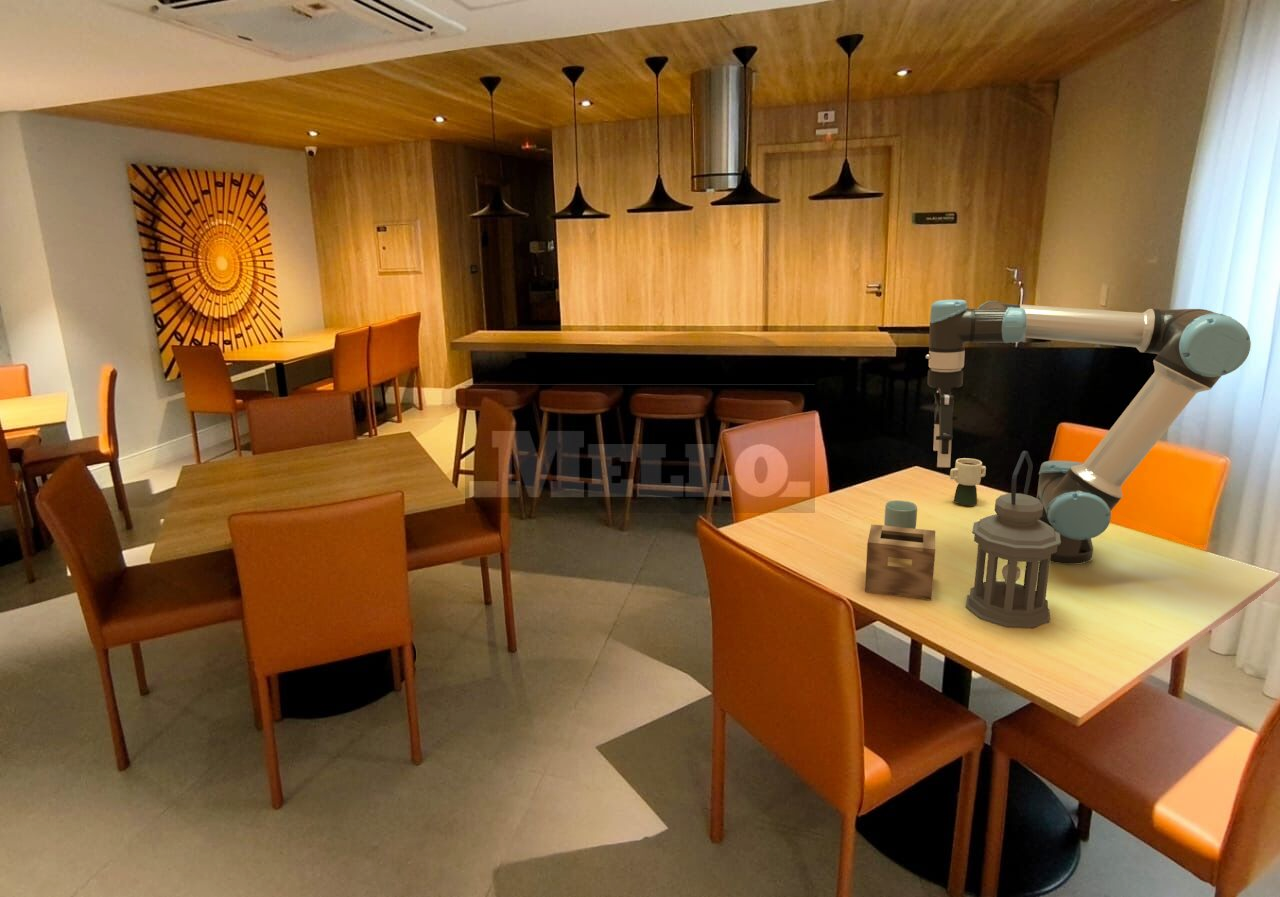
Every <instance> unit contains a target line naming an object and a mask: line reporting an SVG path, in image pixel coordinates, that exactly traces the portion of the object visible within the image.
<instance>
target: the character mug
mask: <svg viewBox="0 0 1280 897" xmlns="http://www.w3.org/2000/svg"><path fill="white" fill-rule="evenodd" d="M954 465H955V466H954V468H951V469H950V472H949V480H954V481H955V482H956V483H957V485H956V488H955V492H954V497H953V502H955V503H957V504H959V505H963V506H970V507H971V506H975V505H977V503H978V493H977V492H978V489H977V486H978V485H980V484H981V480H982V478H984V477H985V476H986V470H987V467H986V465H983V462H982V461H981V460H980V459H976V458H968V457H967V458H966V457H963V458H960V457H959V458H957V459H956V460H955V464H954Z"/></svg>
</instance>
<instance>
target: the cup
mask: <svg viewBox="0 0 1280 897" xmlns="http://www.w3.org/2000/svg"><path fill="white" fill-rule="evenodd" d="M917 517H918V506H917V504H915V503H914V502H912V501H908V500H890V501H887V502H886V503H885V508H884V522H883V523H884V525H883V526H894V527H904V528H914V529H917V528H916V527H917V521H918V520H917V519H918V518H917Z"/></svg>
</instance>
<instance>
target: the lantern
mask: <svg viewBox="0 0 1280 897" xmlns="http://www.w3.org/2000/svg"><path fill="white" fill-rule="evenodd" d="M1024 460H1025V461H1026V463H1027V471H1026V472H1027V473H1026V478H1025V485H1024V490H1023V493H1017V477H1018V474H1019V473H1020V470H1021V467H1022V465H1023V462H1024ZM1033 468H1034V467H1033V461H1032V459H1031V456H1030V454H1029V452H1028V450H1023V451H1022V452H1021V453H1020V456H1019V459H1018V460H1017V463H1016V465H1015V468H1014V470H1013V472H1012V477H1011V492H1010V493H1004V494H1002V495H999V496H998V497H997V498H996V499H995V504H994V512H995V514H992V515H989V516H986V517H983V518H980V519H979V521H975V522H973V525H972V531H971V533H972V534H973V535H974V538H973V542H975V543H977V544H978V545H977V556H976V564H975V565H976V566H975V572H974V573H975V574H974V575H975V576H974V585H973V587H971V588H970V591H969V594H968V595H967V596H966V602H965V606H964V607H965V608H966V610H967V611H969V612H971V614H973V615H974V617H975V616H976V617H977V619H979V620H981V621H983V622H987V623H991V624H993V625H997V626H1000V627H1003V628H1009V629H1011V628H1012V629H1015V628H1016V629H1031V630H1032V629H1036V628H1039V627H1042V626H1043V625H1046V624H1049V623H1050V622H1051V614H1050V613H1051V612H1050V608H1049V600H1048V599H1046V598H1047V589H1048V582H1049V581H1048V580H1049V574H1050V567H1051V562H1050V560H1051V554H1053V553H1056V552H1057V546H1058V545H1061V540H1060V533H1058V532H1056V531H1055V530H1054V528H1052V527H1051V526H1049V525H1048V524H1046V523H1044V522H1043V521H1041V520H1039V519H1040V518H1041V517H1042V514H1043V504H1042V503H1041V502H1040V501H1039V500H1038V499H1037V497H1034V496H1033V495H1028V493H1029V488H1030V483H1031V480H1032V473H1033ZM987 555H988V556H987ZM986 557H987V558H986ZM999 559H1002V560H1006V561H1007V563H1006V564H1005V565H1003V567H1002V568H1001V575H1002V578H1003V579H1004V581H1002V580H1001V581H999V580H997V573H998V562H999ZM986 560H987V565H986ZM1018 563H1025V570H1024V577H1023V578H1024V580H1023V584H1020V583H1016V582H1017V581H1018V580H1019V578H1020V577H1021V571H1022V570H1021V568H1020V567H1019V566H1018ZM985 567H986V575H985ZM984 579H985V581H984Z"/></svg>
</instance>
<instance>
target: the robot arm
mask: <svg viewBox="0 0 1280 897" xmlns="http://www.w3.org/2000/svg"><path fill="white" fill-rule="evenodd" d="M930 307H931V308H930V316H929V332H928V333H929V335H928V336H929V337H928V338H929V341H928V342H929V344H928V350H929V351H928V354H926V355H925V359H927V360H928V367H929V369H928V371H927V385H928V386H929V387H930V388H933V389H936V392H934V415H933V418H934V420H933V421H934V424H933V426H934V428H933V446H932V447H933V452H936V451H937V459H936V460H937V462H936V468H951V457H952V456H951V454H952V440H953V438H954V435H953V413H954V402H955V395H954V392H952V389H957V388H961V387H962V386H963V383H964V370H963V368H964V366H965V357H966V356H965V354H966V353H965V352H966V350H965V349H966V348H965V345H966V343H967V344H968V343H970V344H973V343H986V344H987V343H999V344H1000V343H1005V344H1009V343H1017V342H1018V343H1021V342H1023V341H1024V339H1025V338H1027V339H1036V340H1037V339H1038V340H1047V341H1061V342H1062V341H1063V342H1069V343H1070V342H1073V343H1082V344H1083V343H1084V344H1094V345H1107V346H1117V347H1127V348H1128V347H1129V348H1130V347H1131V348H1136V349H1137V350H1138V351H1139V353H1145V354H1146V353H1148V354H1156V356H1155V358H1154V359H1153V361H1152V362H1153V366H1154V367H1153V368H1154V372H1153V374H1151V376H1150V377H1149V378H1148V380H1147V381H1146V382H1145V384H1144V385H1143V386H1142V388H1141V389H1140V390H1139V391H1138V393H1137V394H1136V395H1135V397H1134V398H1133V399H1132V400H1131V401H1130V403H1129V405H1127V407H1126V408H1125V409H1124V411H1123V412H1122V413H1121V415H1120V416H1119V417H1118V418H1117V420H1116V421H1115V422H1114V424H1113V425H1112V426H1111V427H1110V429H1109V430H1108V431H1107V432H1106V434H1105V435H1104V437H1103V438H1102V439H1101V440H1100V442H1099V443H1098V444H1097V445H1096V447H1095V448H1094V449H1093V451H1092V452H1091V453H1090V455H1089V456H1088V457H1087V458H1086V459H1085V461H1084V462H1079V461H1071V460H1048V461H1047V460H1046V461H1044V462H1042V463H1041V465H1040V468H1039V472H1038V475H1039V477H1038V483H1037V484H1038V486H1037V494H1036V499H1038V500H1039V501H1040V502H1041V503H1042V504H1043V514H1042V517H1041V518H1040V519H1039V520H1041V521H1043V522H1044V523H1046V524H1048V525H1049V526H1051V527H1052V528H1054V530H1055V531H1056V532H1058V533H1060V540H1061V545H1058V546H1057V552H1056V553H1053V554H1051V560H1050V563H1051V562H1052V563H1054V564H1055V563H1056V564H1062V565H1063V564H1064V565H1076V564H1079V565H1080V564H1084V563H1088V562H1090V561H1091V560H1092V559H1093V555H1094V545H1093V541H1092V539H1094V538H1097V537H1098V536H1100V535H1101V534H1102V533H1104V532H1105V531H1106V530H1107V528H1108V527H1109V526H1110V523H1111V518H1112V510H1113V509H1114V508H1115V507H1116V506H1117V505H1118V503H1119V502H1120V501H1121V499H1122V498H1123V496H1124V495H1123V491H1122V486H1123V484H1124V483H1125V482H1126V481H1127V479H1128V478H1129V477H1130V475H1132V473H1133V472H1134V471H1135V470H1136V468H1137V467H1138V466H1139V465H1140V463H1141V462H1142V461H1143V460H1144V458H1146V456H1147V455H1148V454H1149V453H1150V451H1151V450H1152V449H1153V448H1154V446H1155V445H1156V444H1157V443H1158V441H1160V439H1161V437H1163V435H1164V434H1165V432H1167V431H1168V429H1169V428H1170V426H1172V424H1173V423H1174V422H1175V420H1176V419H1177V418H1178V417H1179V415H1181V413H1182V411H1183V410H1185V408H1186V406H1187V405H1188V404H1189V403H1190V402H1191V400H1192V399H1193V398H1194V397H1195V396H1196V394H1198V393H1202V392H1205V391H1209V390H1211V389H1212V388H1213V387H1214V385H1216V384H1217V382H1218V381H1219V380H1220V379H1221V377H1222V376H1226V375H1228V374H1231V373H1233V372H1235V371H1236V370H1237V369H1239V368H1240V367H1241V366H1242V365H1243V364H1244V363H1245V361H1246V360H1247V359H1248V356H1249V354H1250V351H1251V346H1252V343H1251V342H1252V341H1251V338H1250V334H1249V331H1248V330H1247V329H1246V327H1245V326H1244V325H1243V324H1242V323H1240V321H1238V320H1236V319H1234V318H1233V317H1232V316H1229V315H1225V314H1223V313H1217V312H1214V311H1211V310H1209V309H1208V310H1207V309H1203V308H1202V309H1201V308H1184V309H1183V308H1182V309H1180V308H1179V309H1177V308H1176V309H1166V308H1165V309H1163V308H1162V309H1161V308H1158V309H1157V308H1148V309H1147V310H1145V311H1144V312H1135V311H1133V312H1132V311H1121V310H1105V309H1092V308H1090V309H1089V308H1078V307H1077V308H1075V307H1061V306H1046V305H1033V304H1032V305H1031V304H1016V303H1007V302H1003V303H1002V302H1000V301H994V300H992V301H991V300H989V301H986V302H983V303H982V304H981V305H980V306H978V307H977V308H970V307H968V302H967V301H966V300H964V299H941V300H936V301H934V302H933V303H932V304H931V306H930Z"/></svg>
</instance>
